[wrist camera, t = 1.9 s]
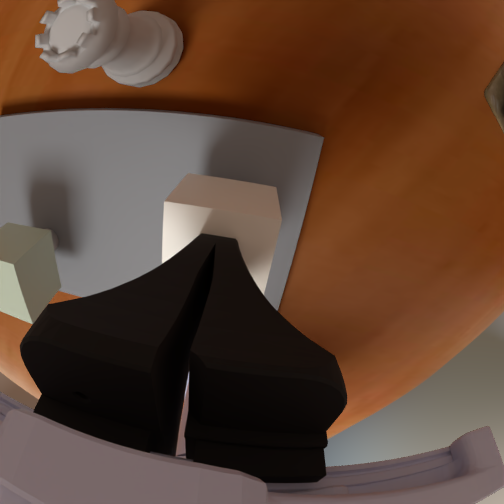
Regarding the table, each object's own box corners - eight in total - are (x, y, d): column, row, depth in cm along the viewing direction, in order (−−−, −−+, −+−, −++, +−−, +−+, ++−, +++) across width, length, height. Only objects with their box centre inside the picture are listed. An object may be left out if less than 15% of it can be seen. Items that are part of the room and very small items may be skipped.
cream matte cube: (259, 262, 15) (259, 310, 12) (181, 249, 15) (161, 294, 12) (276, 187, 13) (282, 220, 10) (188, 173, 13) (164, 201, 10)
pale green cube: (61, 286, 16) (33, 324, 13) (19, 274, 16) (-10, 306, 12) (50, 230, 14) (13, 264, 11) (7, 222, 14) (-29, 251, 11)
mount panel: (270, 318, 21) (272, 360, 18) (18, 266, 20) (-7, 292, 16) (318, 134, 15) (336, 146, 11) (0, 115, 13) (-38, 127, 10)
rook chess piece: (98, 55, 12) (2, 48, 5) (154, 1, 11) (81, -49, 4) (141, 102, 14) (54, 117, 7) (202, 49, 13) (151, 11, 6)
